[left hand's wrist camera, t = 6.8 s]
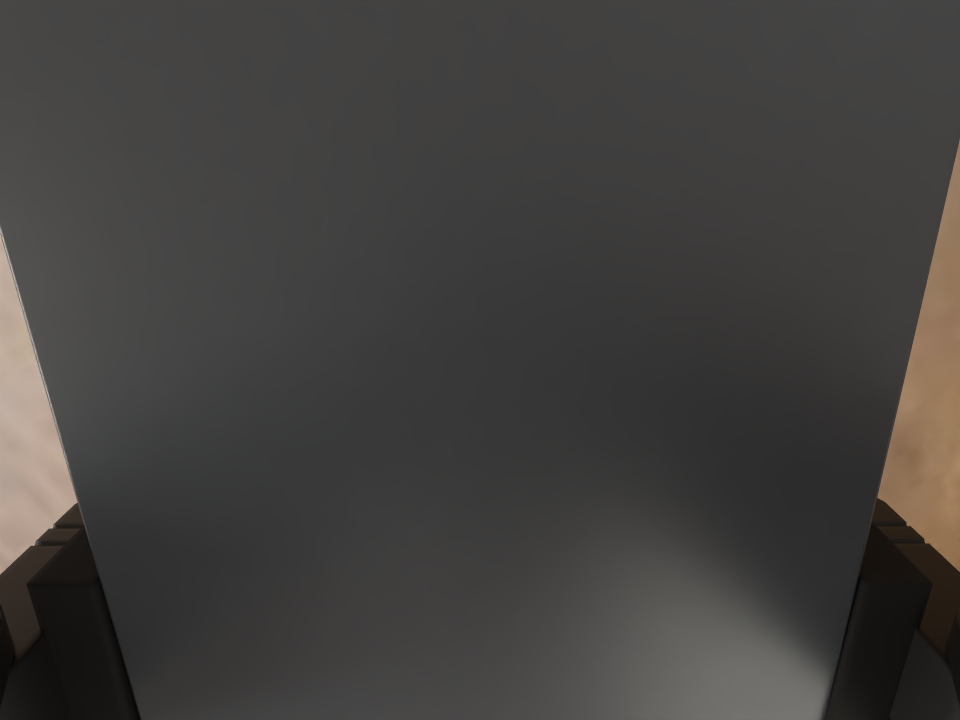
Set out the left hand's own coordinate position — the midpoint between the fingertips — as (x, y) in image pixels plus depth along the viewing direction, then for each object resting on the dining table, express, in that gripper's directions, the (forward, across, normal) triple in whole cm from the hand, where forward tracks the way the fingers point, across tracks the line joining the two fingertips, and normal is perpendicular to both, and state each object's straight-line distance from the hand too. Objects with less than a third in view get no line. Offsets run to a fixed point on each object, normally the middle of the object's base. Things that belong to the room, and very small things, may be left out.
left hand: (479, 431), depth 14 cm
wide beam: (0, +1, -28) cm, 28 cm away
